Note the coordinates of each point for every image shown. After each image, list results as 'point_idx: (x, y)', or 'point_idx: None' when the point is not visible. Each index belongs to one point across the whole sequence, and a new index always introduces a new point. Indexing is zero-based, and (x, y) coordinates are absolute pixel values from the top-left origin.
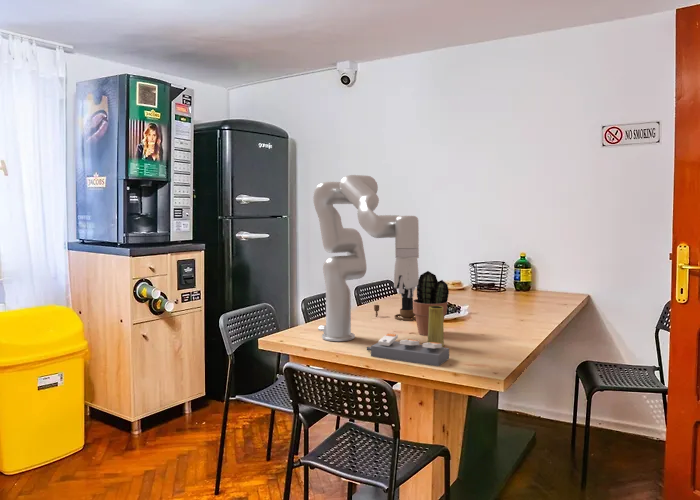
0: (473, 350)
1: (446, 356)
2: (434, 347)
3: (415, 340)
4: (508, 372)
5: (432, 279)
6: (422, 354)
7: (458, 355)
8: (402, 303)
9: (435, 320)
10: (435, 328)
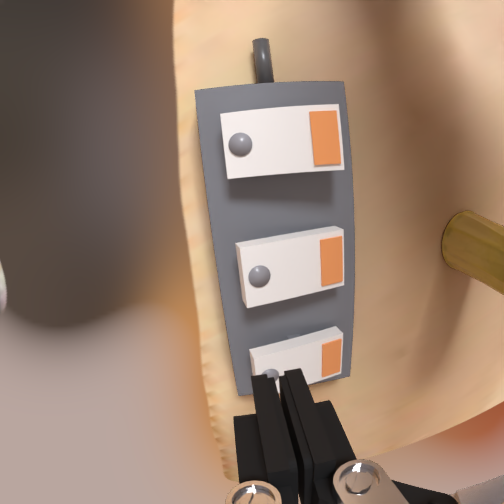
0: (446, 351)
1: None
2: None
3: (322, 282)
4: None
5: None
6: (229, 343)
7: (386, 353)
8: (258, 420)
9: None
10: (488, 276)
